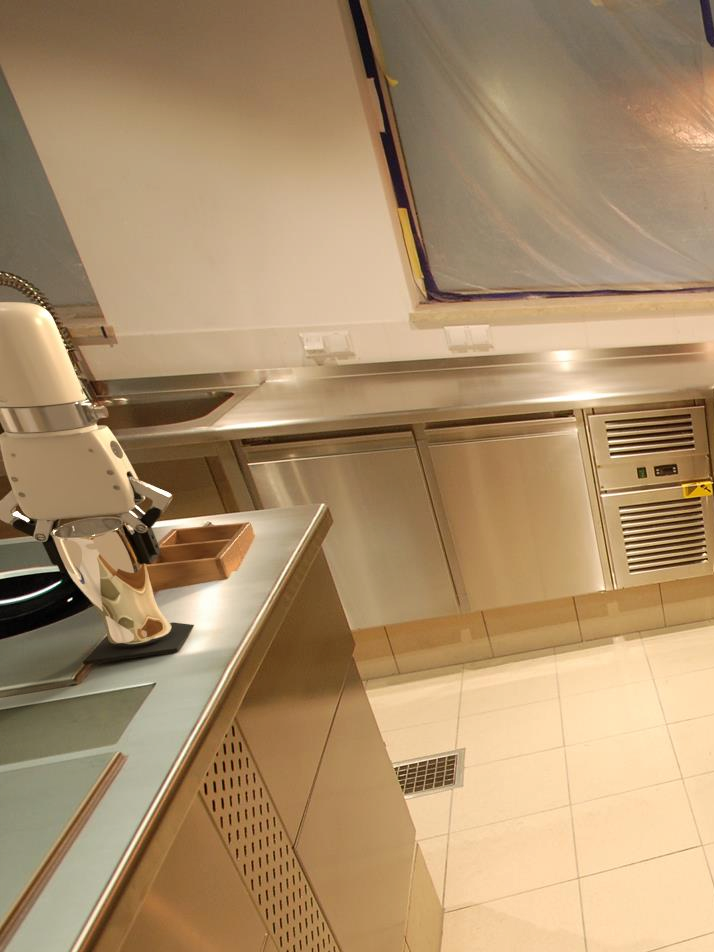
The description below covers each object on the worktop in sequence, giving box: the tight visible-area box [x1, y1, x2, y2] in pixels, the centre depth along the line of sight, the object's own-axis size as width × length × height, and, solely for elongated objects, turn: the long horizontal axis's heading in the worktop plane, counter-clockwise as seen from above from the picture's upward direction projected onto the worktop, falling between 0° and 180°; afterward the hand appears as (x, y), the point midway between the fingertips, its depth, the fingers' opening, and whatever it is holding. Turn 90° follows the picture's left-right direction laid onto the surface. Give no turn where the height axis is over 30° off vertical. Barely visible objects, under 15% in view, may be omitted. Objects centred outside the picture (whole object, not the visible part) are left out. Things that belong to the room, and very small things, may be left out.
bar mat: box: [82, 621, 195, 666], centre depth 108 cm, size 9×10×1 cm
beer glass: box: [51, 516, 172, 647], centre depth 103 cm, size 7×7×15 cm
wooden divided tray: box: [147, 521, 256, 592], centre depth 129 cm, size 10×19×5 cm, turn 27°
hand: (110, 564), depth 103 cm, fingers closed on beer glass, 7 cm apart
